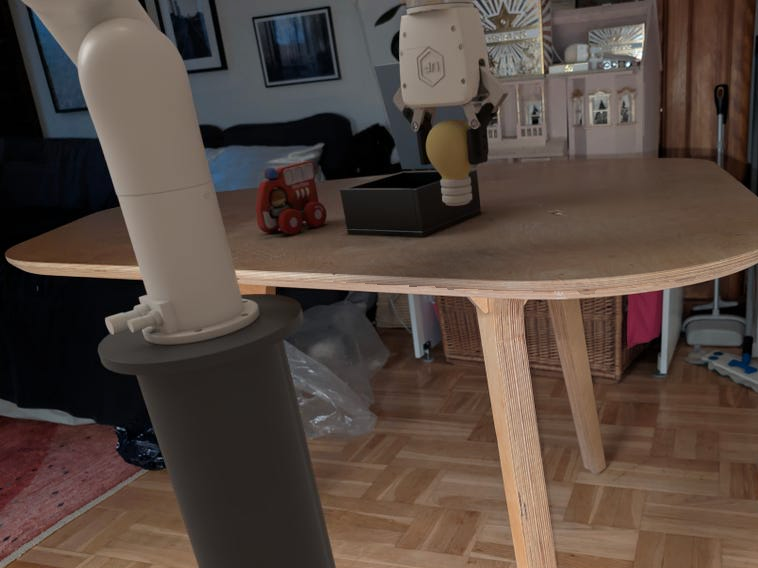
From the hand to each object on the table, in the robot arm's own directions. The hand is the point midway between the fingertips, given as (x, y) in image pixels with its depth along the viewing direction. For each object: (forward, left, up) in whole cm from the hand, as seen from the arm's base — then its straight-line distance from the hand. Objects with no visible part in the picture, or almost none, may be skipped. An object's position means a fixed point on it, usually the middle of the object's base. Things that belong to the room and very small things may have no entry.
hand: (453, 162), depth 85 cm
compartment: (+11, +21, -11) cm, 26 cm away
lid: (+16, +22, +4) cm, 27 cm away
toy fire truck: (+1, +40, -11) cm, 41 cm away
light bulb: (0, 0, -5) cm, 5 cm away
